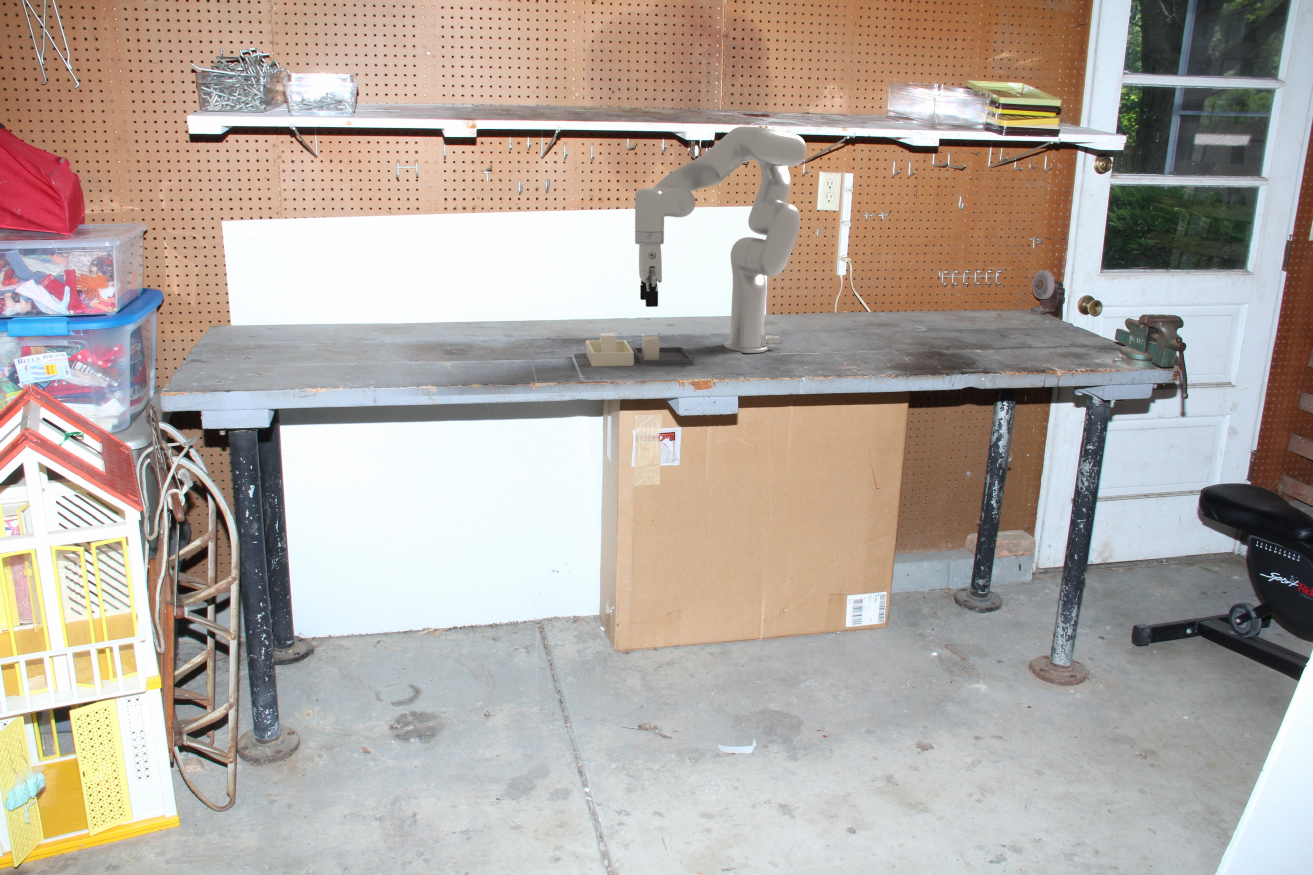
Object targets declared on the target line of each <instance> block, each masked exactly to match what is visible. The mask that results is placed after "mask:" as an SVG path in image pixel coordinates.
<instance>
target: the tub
mask: <svg viewBox="0 0 1313 875" xmlns="http://www.w3.org/2000/svg"><path fill="white" fill-rule="evenodd" d="M585 354H586V357H587V359H588V361H589V363H590V365H591V367H628V366H631V367H633V366H635V365H634V364H635V363H634V359H635V356H634V352H633V350H632V347H631V346H630V345H629V343H628V342H627V340H626V339H616V352H600V339H598V340H585Z"/></svg>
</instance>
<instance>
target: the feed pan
mask: <svg viewBox="0 0 1313 875" xmlns="http://www.w3.org/2000/svg"><path fill="white" fill-rule="evenodd" d="M631 349H632V350H633V352H634V358H635V359H636V361H637V362H638V363H639V364H640V366H680V365H681V366H683V365H685V366H687V365H688V366H691V365H694V358H692V357H691V355H690V354H689V353H688V352H687V351H686V350H685V349H684V348H683V347H682V346H667V347H666V346H665V347H664V346H662V347H661V346H659V360H643V359H642V347H631Z"/></svg>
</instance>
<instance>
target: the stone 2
mask: <svg viewBox="0 0 1313 875" xmlns="http://www.w3.org/2000/svg"><path fill="white" fill-rule="evenodd" d="M659 347H660V338H659V337H658V336H657V335H653V336H651V335H650V336H648V335H647V336H644V335H643V336H641V348H642V359H643V360H659Z"/></svg>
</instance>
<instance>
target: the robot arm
mask: <svg viewBox="0 0 1313 875" xmlns="http://www.w3.org/2000/svg"><path fill="white" fill-rule="evenodd" d="M807 151H808V150H807V145H806V142H805V140H804V139H803V138H802V137H801V136H800V135H798V134H796V133H789V132H786V131H785V132H784V131H780V130H776V129H770V128H767V127H761V126H757V127H756V126H738V127H734V129H732V130H730V131H729V132H727V133H726V134H725V135H724V136H723V137H722V138H721V139H720V140H719V141H718V142H716V143H715V144H714V145H713V146H711V148H710V149H708V150H707V151H705V153H704V154H702V155H701V156H700V157H698V158H696V159H693V160H692V161H690V162H688V163H686V164H684V165H681V166H680V167H678V168H676V169H674V170H672V171H671V172H670V173H668V174H667V175H665V177H664V178H663V179H661V180H660V181H659V182H658V183H657V184H656V185H654V187H652V188H640V189H638V190H636V192H635V195H634V196H635V198H634V211H635V212H634V244H635V245H638V273H639V278H640V286H639V289H640V292H639V293H640V295H639V297H640V300H642V301H645V307H646V308H657V307H658V306H659V290H658V289H659V287H658V283H660V284H661V283H662V282H663V272H662V271H663V270H662V269H663V267H662V262H663V261H662V247H661V245H664V244H665V218H666V217H671V218H684V217H688V216H689V215H690V214H692V213H693V211H694V209H695V207H696V199H695V196H694V194H693V193H692V192H694V191H697V190H699V189H702V188H707V187H711V186H714V185H718V184H720V183H722V182H723V181H724V180H725V179H726V178H728V177H729V176H730V175H731V174H732V173H733V172H734V171H736V170H737V169H738V168H739V167H740V166H741V165H743V163H745V162H746V161H756V162H757V164H758V166H759V170H760V175H761V177H760V178H761V180H760V184H759V188H758V191H757V192H756V196H755V199H754V201H753V205H752V207H751V209H750V213H749V216H748V220H747V222H748V227H749V229H750V231H752V232H753V233H755V234H757V235H761V236H765V239H763V238H758V237H753V236H752V237H751V236H748V237H741V238H740V239H738V240H737V241H736V242H734V244H733V245H732V248H731V250H730V264H731V265H730V266H731V271H732V272H731V274H732V293H731V314H730V333H729V334H730V335H729V340H728V341H726V342H725V343H724V344H723V345H724V348H725V349H728V350H731V351H737V352H739V353H743V354H757V353H764V352H766V351H768V349H769V345H768V344H770V343H772V344H777V343H780V341H781V340H780V336H779V335H772V334H771V335H769V334H768V335H767V333H765V331H764V330H765V329H764V328H765V316H766V315H765V314H766V313H765V312H766V298H767V297H766V296H767V282H766V278H765V276H766V277H776V276H778V275H779V274H781V272H783V271H784V270H785V267H786V266H787V264H788V262H789V260H790V259H789V258H790V257H791V253H792V251H793V248H794V245H795V243H796V241H797V237H798V235H799V233H800V232H799V231H800V228H801V215H800V212H799V209H798V208H797V207H796V206H795V205H793V204H791V203H788V199H789V197H790V196H789V195H790V193H791V192H790V191H791V189H792V178H791V173H790V171H789V168H794V167H797V166H799V165H800V164H801V163H803V161H804V160H805V159H806V156H807Z"/></svg>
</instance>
